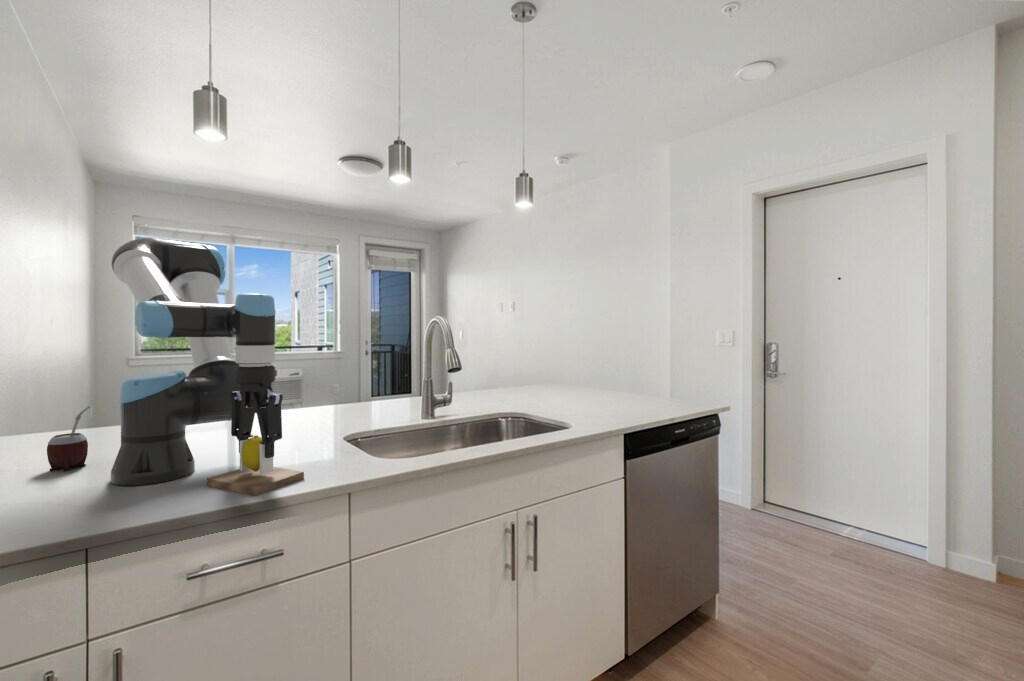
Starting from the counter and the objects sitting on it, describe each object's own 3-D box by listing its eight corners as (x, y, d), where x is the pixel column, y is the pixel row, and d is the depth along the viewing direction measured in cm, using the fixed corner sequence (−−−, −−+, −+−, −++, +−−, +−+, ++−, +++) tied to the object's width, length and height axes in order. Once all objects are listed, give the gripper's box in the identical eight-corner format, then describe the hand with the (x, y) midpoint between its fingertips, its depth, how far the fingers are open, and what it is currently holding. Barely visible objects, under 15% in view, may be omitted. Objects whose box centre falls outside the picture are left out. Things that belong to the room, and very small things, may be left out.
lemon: (257, 476, 98) (257, 438, 98) (235, 474, 99) (235, 437, 99) (276, 468, 104) (275, 433, 104) (254, 467, 105) (254, 432, 105)
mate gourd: (50, 467, 111) (49, 405, 111) (94, 462, 116) (93, 402, 116) (44, 475, 106) (43, 409, 105) (90, 469, 110) (89, 406, 110)
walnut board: (206, 485, 99) (206, 478, 99) (257, 470, 110) (257, 463, 110) (255, 495, 93) (255, 488, 93) (303, 478, 104) (303, 471, 104)
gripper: (301, 365, 101) (301, 471, 101) (242, 362, 108) (243, 461, 109) (270, 367, 94) (271, 481, 95) (210, 364, 102) (211, 469, 102)
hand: (256, 470), depth 102 cm, fingers closed on lemon, 5 cm apart
